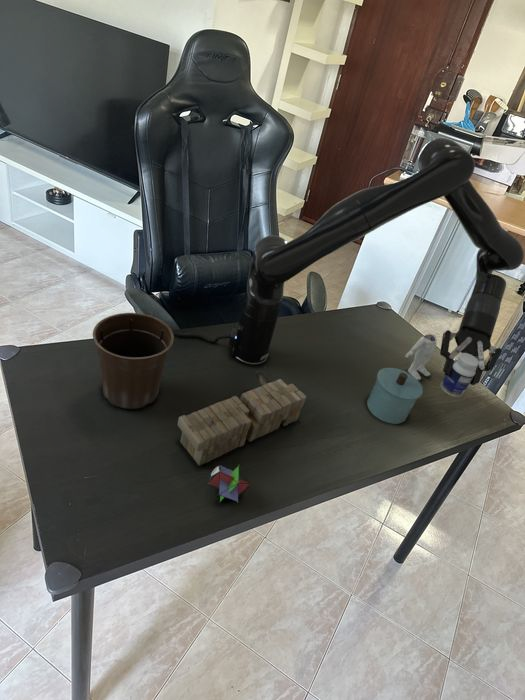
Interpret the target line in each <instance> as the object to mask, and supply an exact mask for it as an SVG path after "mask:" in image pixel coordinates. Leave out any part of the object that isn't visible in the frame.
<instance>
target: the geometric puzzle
mask: <svg viewBox="0 0 525 700" xmlns="http://www.w3.org/2000/svg"><path fill="white" fill-rule="evenodd" d="M229 466H231V467H229ZM228 467H229V468H227V467H225V466H224V465H217V466H216V467H215V468H214V469H213V470H212V472H211V473H210V477H212V478H211V479H210V480H209V482H208V483H207V484H208V486H212V487H210V488H211V490H213V486H214V487H216V488H218V493H217V495H218V496H219V497H217V500H218V502H219V503H223V502H226V501H227V500H231V501H232V502H235V503H239V502H240V495H241V494H242V493H243V492H244V493H243V494H245V492H246V491H247V490H248V488H249V486H250V485H251V482H250V481H249V480H248V478H247V476H243V475H241V474H240V465H239V464H236V465H233V466H232V465H228ZM234 467H236V468H234ZM232 468H234V470H232ZM240 476H241V477H242V478H243V479H244V480H242V479H240ZM245 477H246V478H245ZM213 493H214V495H216V494H215V492H213ZM225 498H226V499H225Z"/></svg>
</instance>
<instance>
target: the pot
mask: <svg viewBox="0 0 525 700" xmlns="http://www.w3.org/2000/svg"><path fill="white" fill-rule="evenodd" d="M423 391H424V389H423V386H422V384H421V382H420V380H417V379H416V378H415V377H413V376H412V375H411V374H410V373H409V372H408V371H405V370H403V369H399V368H395V367H384V368H382V369H380V370H379V371H378V372H377V374H376V381H375V383H374V386H373V388H372V390H371V392H370V394H369V396H368V398H367V401H366V405H367V408H368V410H369V412H370V413H371V414H372V415H373V416H374V417H375V418H377V419H378V420H380V421H382V422H384V423H387V424H392V425H398V424H399V425H400V424H402V423H404V422H405V421H406V420H407V418H408V417H409V414H410V412H411V411H412V409H413V408H414V405H415V403H416V402H417V400H418V399H420V398H421V397H422V396H423Z"/></svg>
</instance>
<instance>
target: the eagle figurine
mask: <svg viewBox="0 0 525 700" xmlns="http://www.w3.org/2000/svg"><path fill="white" fill-rule="evenodd" d="M255 375H256V378H257V379H258V381H259V383H260V385H261V386H263V385H266V384H268V383H270V382H271V381H270V379H269V377H268V375H267V373H265V372H264V371H261V370H256V371H255Z"/></svg>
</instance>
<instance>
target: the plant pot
mask: <svg viewBox="0 0 525 700" xmlns="http://www.w3.org/2000/svg"><path fill="white" fill-rule="evenodd" d="M164 322H165V321H163V320H162V319H160V318H159V317H155V316H152V315H151V314H145V313H139V312H121V313H116V314H111V315H109V316H107V317H105V318H103V319H101V320H100V321H98V322H97V323H96V324H95V326H94V328H93V329H92V339H93V342H94V344H95V345H96V346H95V348H96V354H97V355H98V358H99V366H100V376H101V384H102V392H103V396H104V398H105V399H107V400H108V402H109V403H110V404H111V405H113V406H116V407H118V408H121V409H127V410H135V409H142V408H144V407H146V405H149V404H152V403H153V402H154V401H155V400H156V399H157V397H158V395H159V391H160V386H161V381H162V377H163V376H162V375H163V373H164V368H165V363H166V360H167V358H168V356H169V353H170V349H171V348H172V346H173V344H174V339H175V338H174V337H175V335H174V334H173V332H172V330H171V329H170V327H171V326H170V325H169V324H168V325H169V326H170V327H169V326H168V325H167V323H166V322H165V323H164Z"/></svg>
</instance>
